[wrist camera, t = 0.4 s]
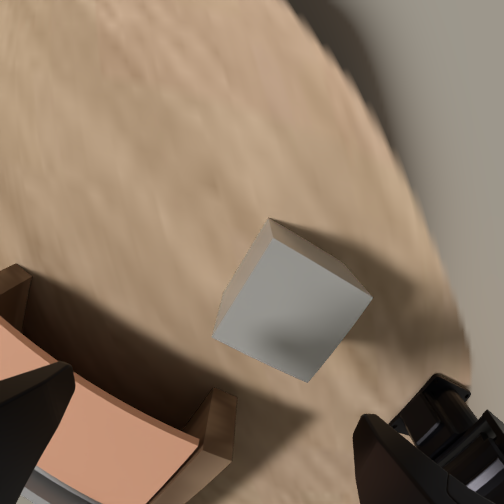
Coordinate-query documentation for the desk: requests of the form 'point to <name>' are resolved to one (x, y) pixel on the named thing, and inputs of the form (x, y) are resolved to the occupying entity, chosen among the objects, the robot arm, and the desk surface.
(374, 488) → the robot arm
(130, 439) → the trapdoor
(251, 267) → the gray cube
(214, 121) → the desk surface
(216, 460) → the frame
